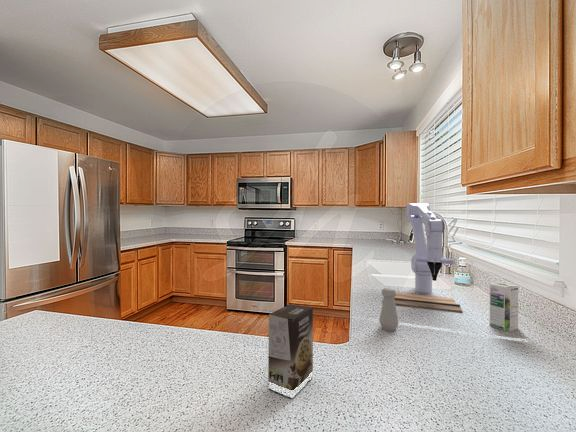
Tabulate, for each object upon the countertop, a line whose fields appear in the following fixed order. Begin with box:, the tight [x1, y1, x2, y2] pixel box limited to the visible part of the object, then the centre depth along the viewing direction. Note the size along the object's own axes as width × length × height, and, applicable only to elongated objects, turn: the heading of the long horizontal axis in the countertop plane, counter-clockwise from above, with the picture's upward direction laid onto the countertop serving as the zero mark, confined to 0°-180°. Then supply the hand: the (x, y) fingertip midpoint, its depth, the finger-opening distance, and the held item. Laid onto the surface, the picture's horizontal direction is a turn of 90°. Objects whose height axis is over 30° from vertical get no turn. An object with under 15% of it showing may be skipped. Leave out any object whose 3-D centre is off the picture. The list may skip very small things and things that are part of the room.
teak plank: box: [394, 292, 457, 304], centre depth 123 cm, size 10×26×2 cm, turn 67°
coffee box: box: [267, 303, 314, 390], centre depth 63 cm, size 9×6×16 cm
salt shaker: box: [378, 287, 399, 332], centre depth 93 cm, size 6×6×13 cm
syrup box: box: [488, 282, 519, 332], centre depth 93 cm, size 6×6×14 cm
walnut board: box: [382, 298, 463, 314], centre depth 114 cm, size 6×28×2 cm, turn 67°
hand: (434, 280), depth 122 cm, fingers closed
